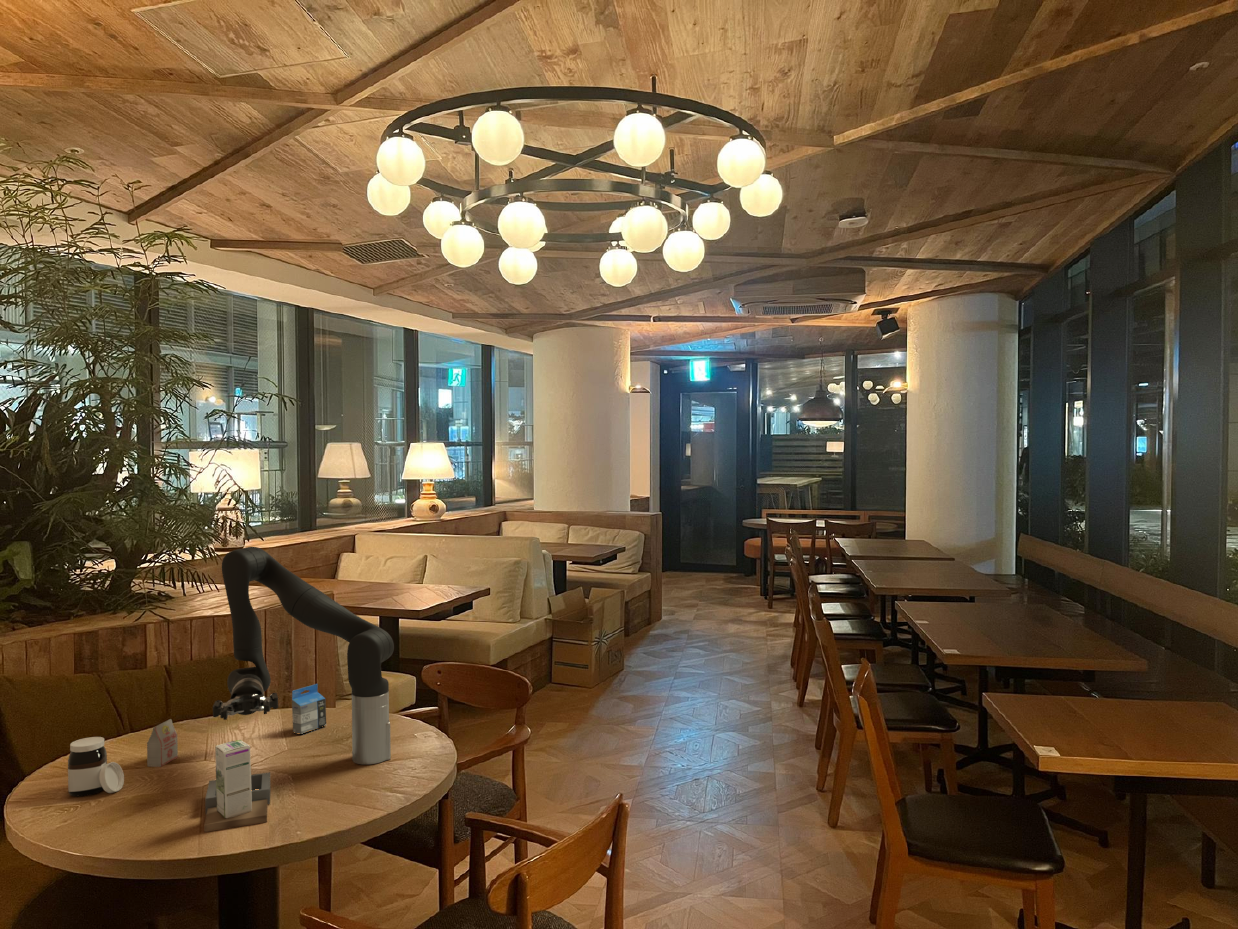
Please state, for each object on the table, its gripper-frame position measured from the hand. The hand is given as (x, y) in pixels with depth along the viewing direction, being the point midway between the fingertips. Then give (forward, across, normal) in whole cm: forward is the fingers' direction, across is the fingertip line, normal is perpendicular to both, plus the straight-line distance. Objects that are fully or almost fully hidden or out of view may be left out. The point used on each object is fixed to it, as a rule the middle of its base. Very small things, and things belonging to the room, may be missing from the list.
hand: (245, 712), depth 191 cm
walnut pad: (+14, -2, +19) cm, 24 cm away
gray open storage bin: (+3, -2, +19) cm, 19 cm away
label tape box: (-42, +15, +19) cm, 49 cm away
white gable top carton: (-32, -21, +18) cm, 42 cm away
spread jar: (-17, -33, +18) cm, 41 cm away
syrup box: (+14, -2, +18) cm, 22 cm away
